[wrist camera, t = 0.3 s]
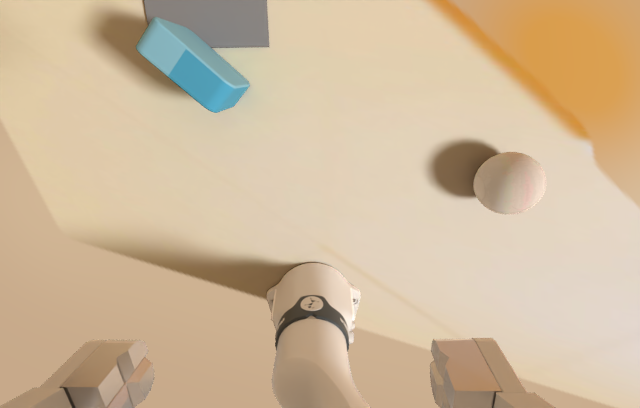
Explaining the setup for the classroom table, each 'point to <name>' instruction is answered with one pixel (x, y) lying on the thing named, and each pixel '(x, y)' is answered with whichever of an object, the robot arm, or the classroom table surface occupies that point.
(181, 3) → the mat
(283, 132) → the classroom table surface
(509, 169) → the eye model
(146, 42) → the data package
